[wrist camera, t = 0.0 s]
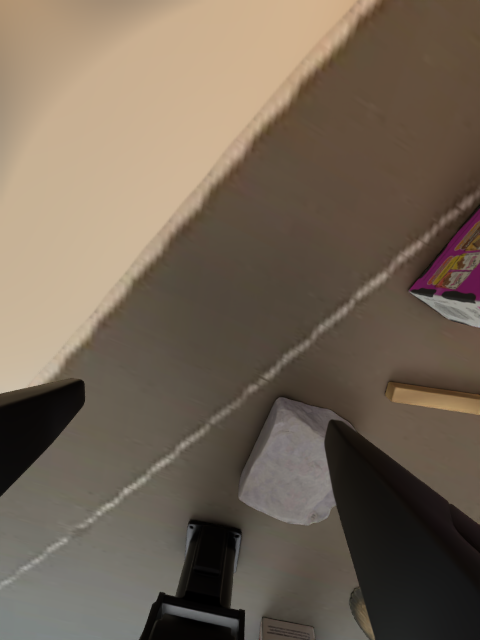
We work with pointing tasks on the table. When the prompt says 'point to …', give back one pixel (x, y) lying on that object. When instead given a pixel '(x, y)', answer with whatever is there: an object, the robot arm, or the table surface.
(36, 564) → the table surface
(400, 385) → the maple bay
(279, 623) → the juice carton
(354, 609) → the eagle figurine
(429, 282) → the candy bar box
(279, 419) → the stone block
